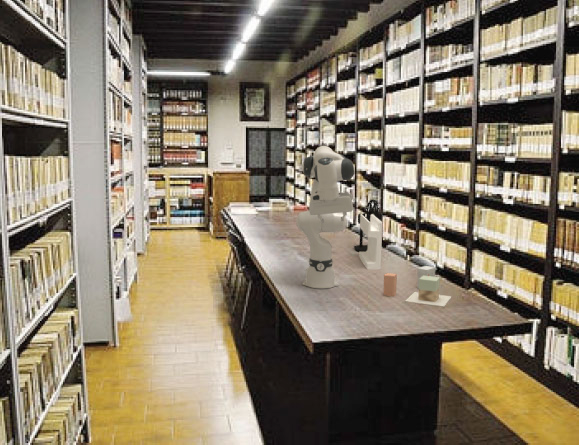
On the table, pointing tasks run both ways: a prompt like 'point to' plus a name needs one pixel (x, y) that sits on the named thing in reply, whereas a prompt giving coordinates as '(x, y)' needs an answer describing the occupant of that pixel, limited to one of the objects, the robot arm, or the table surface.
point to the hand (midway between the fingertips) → (332, 221)
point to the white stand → (372, 242)
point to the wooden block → (428, 295)
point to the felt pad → (440, 301)
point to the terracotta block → (390, 284)
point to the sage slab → (429, 283)
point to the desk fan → (364, 247)
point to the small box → (425, 273)
